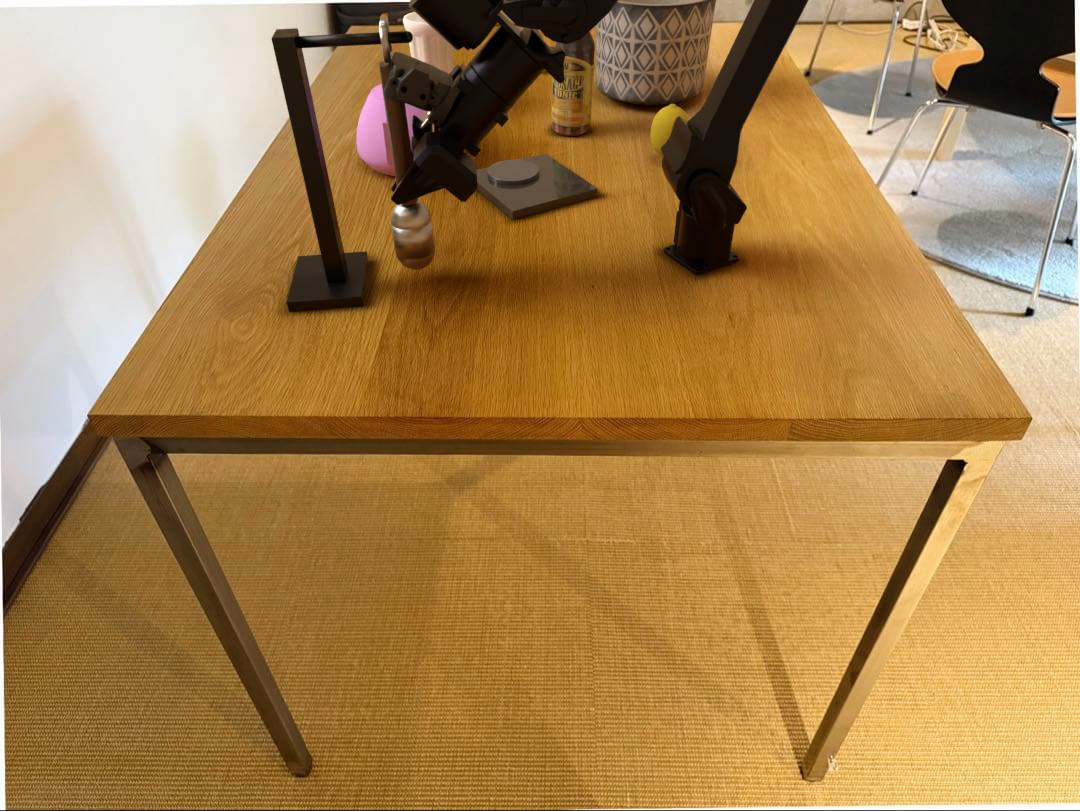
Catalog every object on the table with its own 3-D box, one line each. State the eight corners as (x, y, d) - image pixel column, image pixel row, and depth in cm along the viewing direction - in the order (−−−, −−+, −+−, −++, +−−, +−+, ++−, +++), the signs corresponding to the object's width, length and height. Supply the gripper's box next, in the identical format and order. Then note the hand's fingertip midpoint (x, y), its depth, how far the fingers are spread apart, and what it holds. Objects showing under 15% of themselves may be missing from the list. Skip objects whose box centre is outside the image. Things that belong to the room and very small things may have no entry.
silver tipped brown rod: (436, 256, 88) (407, 11, 71) (437, 275, 84) (406, 23, 68) (398, 258, 87) (359, 13, 71) (397, 278, 84) (356, 26, 67)
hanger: (440, 254, 91) (412, 13, 74) (441, 300, 83) (411, 42, 66) (300, 265, 90) (238, 21, 72) (288, 311, 82) (217, 51, 65)
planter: (708, 81, 137) (721, -21, 127) (698, 118, 123) (712, 7, 113) (604, 74, 141) (608, -26, 130) (583, 110, 127) (585, 1, 116)
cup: (404, 106, 130) (393, 15, 120) (445, 96, 133) (436, 7, 124) (429, 120, 125) (419, 26, 115) (470, 108, 128) (463, 17, 119)
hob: (597, 196, 102) (598, 183, 101) (512, 220, 97) (512, 207, 96) (545, 160, 111) (545, 148, 110) (465, 180, 107) (464, 168, 106)
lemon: (685, 168, 109) (691, 112, 103) (646, 165, 110) (651, 109, 104) (687, 153, 113) (693, 98, 108) (650, 150, 114) (654, 96, 108)
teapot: (378, 130, 121) (365, 51, 114) (474, 131, 121) (468, 51, 113) (341, 190, 105) (324, 102, 97) (453, 192, 104) (444, 102, 96)
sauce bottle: (544, 134, 119) (543, -7, 106) (562, 121, 124) (562, -16, 111) (582, 141, 117) (585, -2, 104) (598, 127, 121) (603, -12, 108)
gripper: (426, -2, 77) (337, 114, 83) (427, 52, 63) (319, 187, 69) (507, 75, 82) (418, 178, 89) (524, 140, 68) (417, 257, 75)
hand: (394, 197), depth 80 cm, fingers closed on silver tipped brown rod, 2 cm apart
